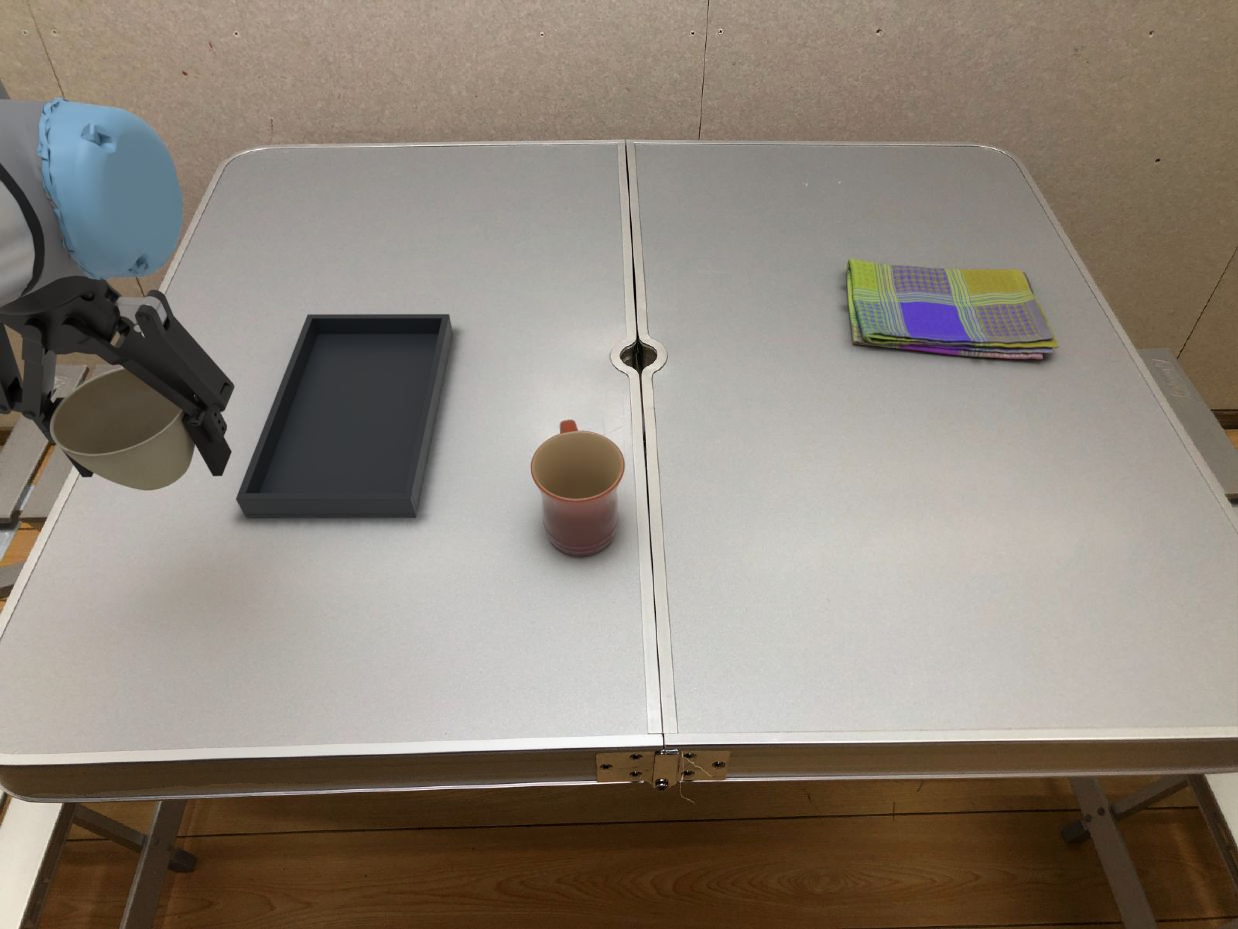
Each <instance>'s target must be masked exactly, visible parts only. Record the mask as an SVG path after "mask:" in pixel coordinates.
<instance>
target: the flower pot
mask: <svg viewBox="0 0 1238 929" xmlns="http://www.w3.org/2000/svg"><path fill="white" fill-rule="evenodd" d="M185 413H186V412H185V411H183V410H182V409H180V408H179V407H178V406H176V405H175V404H174V403H172V402H171V401H169V400H168V399H167V398H165V397H164V396H162V395H161V394H160V393H158V392H157V391H156V390H154V389H153V388H151V387H150V386H149V385H147V384H146V383H144V382H143V381H142V380H140V379H139V378H138V377H136V376H135V375H133V374H132V373H131V372H129V371H128V370H126V369H125V368H124V367H122V366H121V367H117V368H115V369H114V368H113V369H111V370H108V371H105V372H102V373H100V374H97V375H96V376H93V377H92V378H89V379H88V380H86V381H84V382H83V383H81V384H80V385H78V386H76V387H75V388H74V389H72V390H71V391H70V392H69V393H68V394H66V396H65V398H64V399H63V400H62V401H61V402H60V404H59V405H58V406H57V408H56V410H55V411H54V413H53V415H52V418H51V422H50V433H51V436H52V438H53V440H54V441H55V443H56V444H55V445H57V446H58V448H60V450H61V451H62V450H63V451H64V452H65V453H66V454H68V455H69V456H70V457H71V458H72V459H74V460H75V461H76V462H78V463H79V464H81V465H82V466H84V467H85V468H87V469H88V470H90V471H92V472H93V473H94V474H95V475H97V476H99V477H101V478H103V479H105V480H107V481H109V482H111V483H115V484H116V485H119V486H122V487H126V488H130V489H134V490H139V491H155V490H156V491H157V490H160V489H163V488H166V487H168V486H171V485H173V484H174V483H176V482H177V481H179V480H180V479H181V478H182V477H184V475H185V474H186V473H187V472H188V470H189V468H190V466H191V463H192V461H193V456H194V453H195V448H196V445H195V443H194V442H193V440H192V438H191V436H190V435H189V433H188V431H187V429H186V428H185V426H184V424H183V422H182V420H183V418H184V415H185ZM63 451H62V452H63ZM64 452H63V453H64ZM65 453H64V454H65Z"/></svg>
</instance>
